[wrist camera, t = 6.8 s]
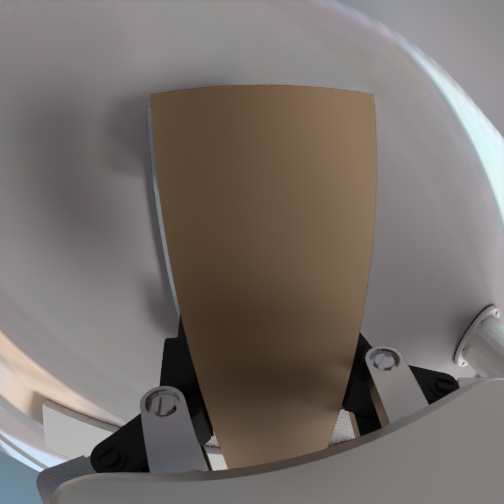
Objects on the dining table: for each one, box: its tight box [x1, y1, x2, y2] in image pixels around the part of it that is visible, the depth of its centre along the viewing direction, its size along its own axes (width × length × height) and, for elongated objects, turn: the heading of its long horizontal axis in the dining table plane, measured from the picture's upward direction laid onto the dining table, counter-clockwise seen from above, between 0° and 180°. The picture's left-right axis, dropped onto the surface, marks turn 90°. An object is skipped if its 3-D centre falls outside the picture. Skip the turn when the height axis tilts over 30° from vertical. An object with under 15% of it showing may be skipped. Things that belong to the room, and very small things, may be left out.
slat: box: [151, 85, 377, 469], centre depth 9 cm, size 4×16×5 cm, turn 3°
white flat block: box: [42, 399, 228, 471], centre depth 30 cm, size 34×5×10 cm
